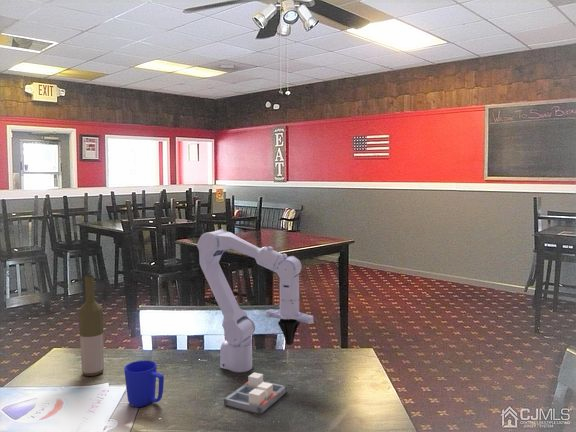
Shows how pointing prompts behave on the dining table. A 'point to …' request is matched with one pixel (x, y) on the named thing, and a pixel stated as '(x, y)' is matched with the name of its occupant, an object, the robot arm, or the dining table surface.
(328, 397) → the dining table surface
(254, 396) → the tab near
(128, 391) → the mug
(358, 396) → the dining table surface
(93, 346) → the bottle
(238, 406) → the switch bank
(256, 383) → the tab far
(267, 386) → the tab mid
